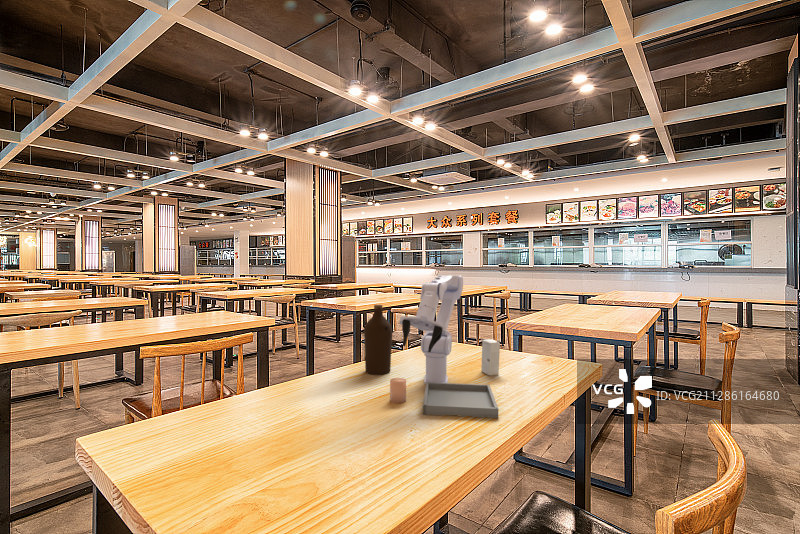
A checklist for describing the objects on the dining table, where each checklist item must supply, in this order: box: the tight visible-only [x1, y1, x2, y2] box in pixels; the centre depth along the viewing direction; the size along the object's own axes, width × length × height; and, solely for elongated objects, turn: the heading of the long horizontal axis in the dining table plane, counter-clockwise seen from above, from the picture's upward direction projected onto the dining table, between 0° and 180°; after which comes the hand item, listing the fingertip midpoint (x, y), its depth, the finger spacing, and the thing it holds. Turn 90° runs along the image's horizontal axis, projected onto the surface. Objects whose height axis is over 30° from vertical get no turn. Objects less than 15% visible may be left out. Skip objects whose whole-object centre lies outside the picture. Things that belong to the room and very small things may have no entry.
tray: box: [422, 382, 499, 419], centre depth 114 cm, size 20×20×2 cm
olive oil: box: [363, 304, 393, 376], centre depth 145 cm, size 11×11×25 cm
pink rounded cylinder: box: [389, 377, 407, 404], centre depth 115 cm, size 5×5×6 cm
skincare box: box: [480, 338, 501, 376], centre depth 144 cm, size 6×4×12 cm
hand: (416, 347), depth 113 cm, fingers open, 7 cm apart
